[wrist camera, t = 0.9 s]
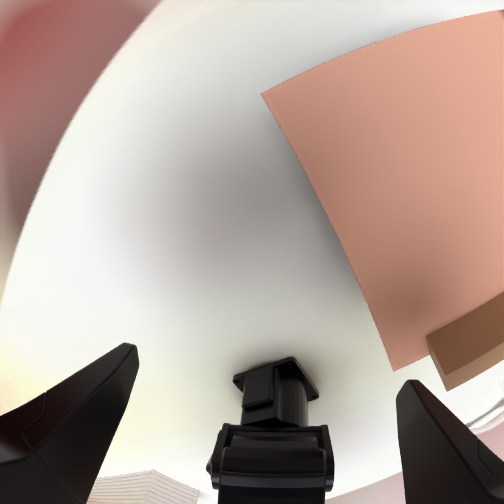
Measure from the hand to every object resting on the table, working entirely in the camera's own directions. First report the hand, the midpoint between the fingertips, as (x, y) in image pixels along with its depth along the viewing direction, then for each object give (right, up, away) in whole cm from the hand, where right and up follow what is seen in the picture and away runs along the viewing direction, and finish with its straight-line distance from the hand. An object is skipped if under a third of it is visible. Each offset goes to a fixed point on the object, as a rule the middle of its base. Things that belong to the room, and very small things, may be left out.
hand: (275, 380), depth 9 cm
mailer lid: (+10, +7, +4) cm, 13 cm away
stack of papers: (-26, -47, +41) cm, 68 cm away
